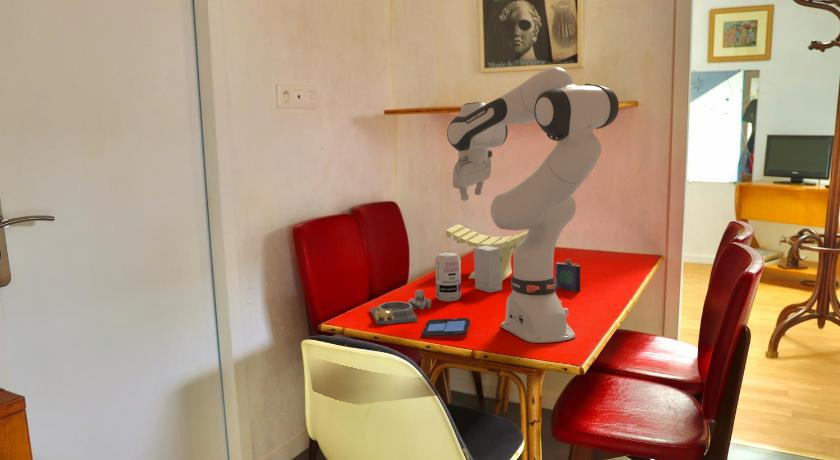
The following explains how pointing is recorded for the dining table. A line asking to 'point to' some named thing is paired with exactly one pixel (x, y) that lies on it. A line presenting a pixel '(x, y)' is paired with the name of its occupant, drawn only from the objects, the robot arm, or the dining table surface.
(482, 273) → the skincare box
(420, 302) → the planet gear
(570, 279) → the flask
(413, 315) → the carrier board
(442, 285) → the supplement can
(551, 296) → the robot arm
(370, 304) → the dining table surface
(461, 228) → the slatted curved stool
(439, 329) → the game console
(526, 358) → the dining table surface
